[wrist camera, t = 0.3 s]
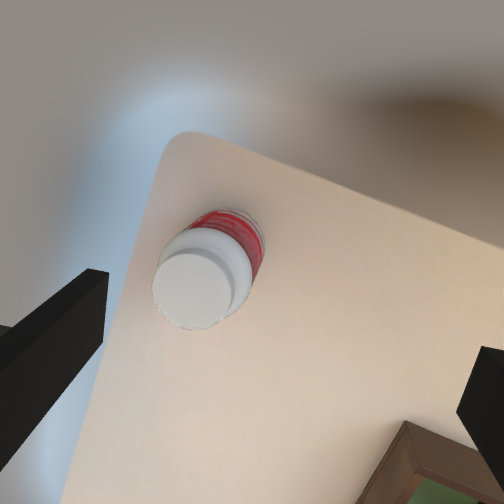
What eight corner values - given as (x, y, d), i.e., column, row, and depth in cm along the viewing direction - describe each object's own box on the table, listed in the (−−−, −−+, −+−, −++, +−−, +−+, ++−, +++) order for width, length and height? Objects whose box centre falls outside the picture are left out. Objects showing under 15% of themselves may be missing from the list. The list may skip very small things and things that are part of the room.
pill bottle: (205, 194, 35) (158, 222, 24) (277, 225, 35) (261, 266, 24) (180, 263, 37) (125, 317, 26) (248, 293, 36) (220, 359, 26)
